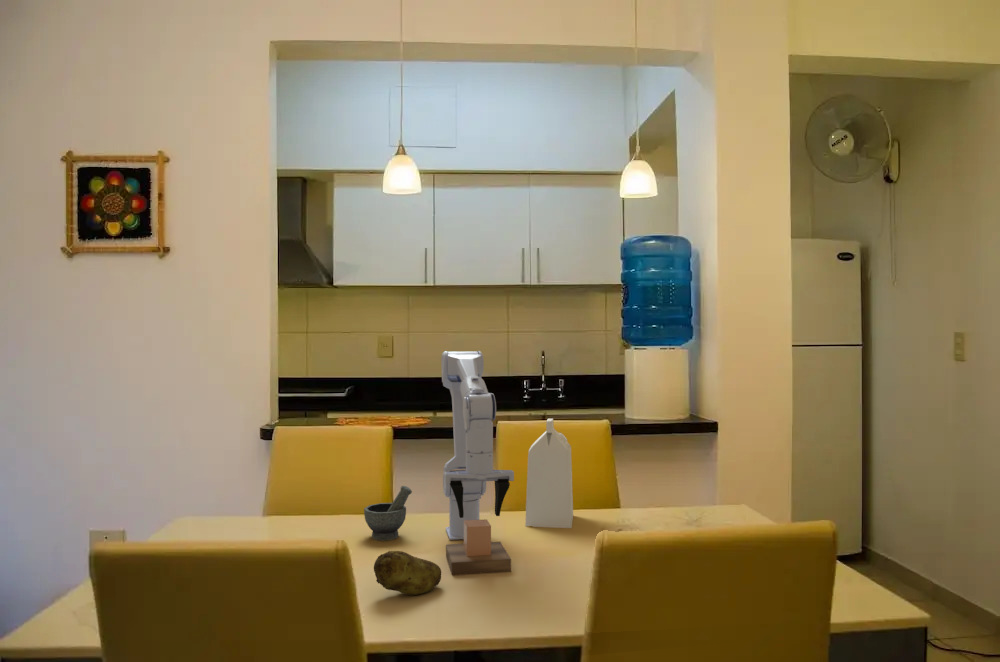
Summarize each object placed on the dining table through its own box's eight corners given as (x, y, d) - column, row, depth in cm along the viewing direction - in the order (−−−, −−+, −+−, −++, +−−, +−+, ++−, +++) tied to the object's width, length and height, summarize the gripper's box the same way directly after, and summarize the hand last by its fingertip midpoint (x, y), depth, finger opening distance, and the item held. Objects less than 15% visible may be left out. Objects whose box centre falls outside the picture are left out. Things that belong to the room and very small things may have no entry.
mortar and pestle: (361, 543, 161) (361, 491, 161) (366, 531, 170) (366, 482, 170) (410, 542, 161) (410, 490, 161) (413, 530, 171) (412, 481, 171)
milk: (529, 514, 186) (529, 416, 186) (573, 515, 185) (573, 417, 185) (525, 526, 174) (525, 422, 175) (571, 528, 173) (571, 423, 173)
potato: (446, 598, 127) (446, 554, 127) (374, 604, 124) (374, 559, 124) (439, 582, 135) (439, 541, 135) (372, 588, 132) (372, 545, 132)
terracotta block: (463, 548, 148) (463, 520, 148) (486, 547, 149) (486, 519, 149) (467, 556, 143) (467, 526, 143) (491, 554, 144) (491, 525, 144)
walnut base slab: (445, 556, 151) (445, 544, 151) (500, 553, 153) (500, 541, 153) (451, 575, 139) (451, 562, 139) (510, 571, 141) (510, 559, 141)
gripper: (446, 455, 142) (446, 522, 142) (516, 453, 144) (516, 519, 144) (443, 449, 149) (443, 513, 149) (510, 447, 151) (510, 510, 151)
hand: (479, 515), depth 147 cm, fingers open, 7 cm apart
